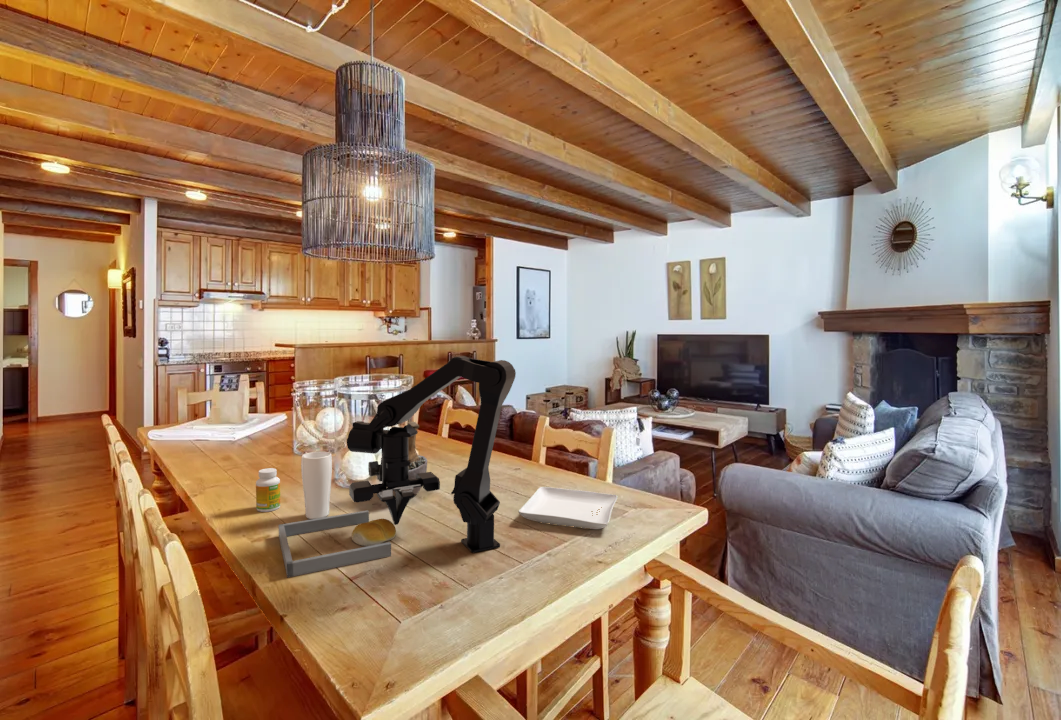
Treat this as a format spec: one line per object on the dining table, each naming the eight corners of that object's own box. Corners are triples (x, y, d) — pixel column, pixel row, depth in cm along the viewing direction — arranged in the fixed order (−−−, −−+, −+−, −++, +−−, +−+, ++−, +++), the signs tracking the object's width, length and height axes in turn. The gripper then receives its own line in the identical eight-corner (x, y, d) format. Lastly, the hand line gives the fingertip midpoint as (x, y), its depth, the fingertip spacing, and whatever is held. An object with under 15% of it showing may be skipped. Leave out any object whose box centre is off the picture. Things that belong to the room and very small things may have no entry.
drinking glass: (300, 522, 121) (298, 459, 120) (304, 512, 127) (303, 452, 126) (331, 520, 123) (330, 457, 122) (333, 509, 129) (333, 450, 128)
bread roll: (403, 536, 114) (403, 518, 114) (368, 550, 107) (368, 531, 107) (379, 527, 119) (379, 510, 119) (344, 540, 112) (344, 522, 112)
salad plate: (618, 505, 136) (618, 493, 136) (607, 537, 116) (607, 522, 116) (539, 497, 142) (540, 484, 142) (516, 526, 122) (517, 511, 121)
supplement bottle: (270, 513, 127) (269, 474, 126) (251, 511, 128) (250, 472, 127) (285, 505, 132) (284, 468, 131) (266, 503, 133) (265, 466, 132)
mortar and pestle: (396, 508, 131) (396, 429, 130) (370, 491, 144) (369, 419, 142) (447, 496, 140) (448, 423, 139) (418, 481, 153) (418, 414, 152)
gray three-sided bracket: (391, 555, 104) (391, 543, 104) (287, 577, 95) (286, 564, 95) (367, 520, 123) (367, 510, 123) (278, 535, 113) (278, 524, 113)
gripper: (425, 442, 126) (425, 505, 127) (344, 451, 117) (345, 519, 118) (440, 453, 116) (440, 521, 117) (353, 463, 107) (354, 537, 108)
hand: (395, 524), depth 115 cm, fingers closed
